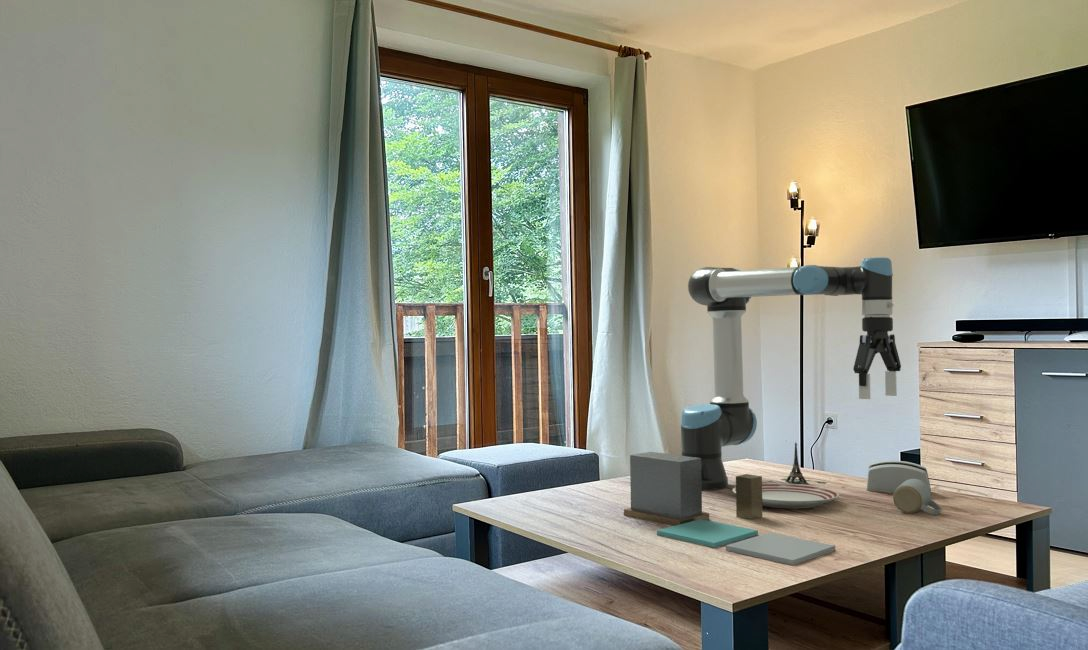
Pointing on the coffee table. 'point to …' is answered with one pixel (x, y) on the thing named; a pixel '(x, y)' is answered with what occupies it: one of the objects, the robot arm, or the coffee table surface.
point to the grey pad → (780, 548)
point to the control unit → (666, 488)
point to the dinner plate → (794, 495)
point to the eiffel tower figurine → (797, 473)
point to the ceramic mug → (915, 498)
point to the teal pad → (707, 533)
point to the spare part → (749, 496)
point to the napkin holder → (894, 475)
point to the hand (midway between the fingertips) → (878, 397)
